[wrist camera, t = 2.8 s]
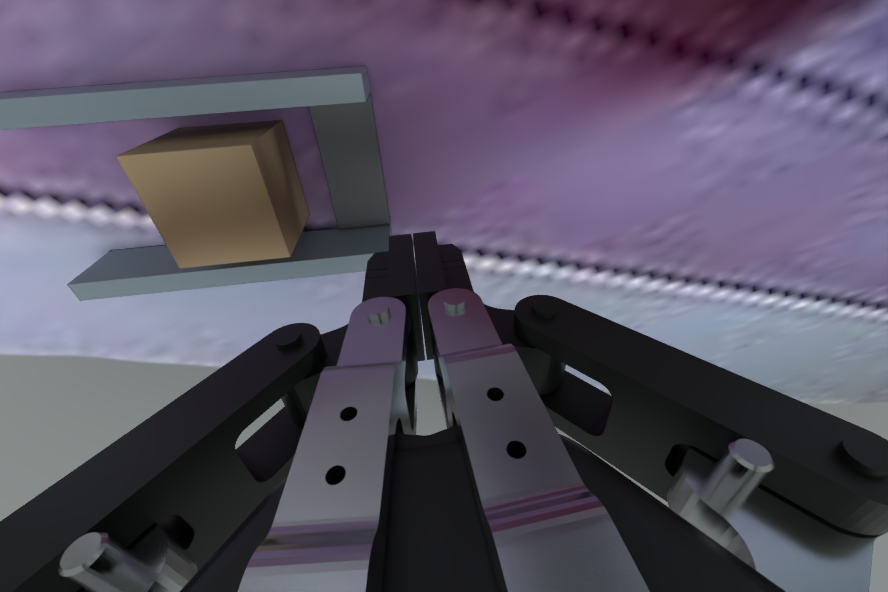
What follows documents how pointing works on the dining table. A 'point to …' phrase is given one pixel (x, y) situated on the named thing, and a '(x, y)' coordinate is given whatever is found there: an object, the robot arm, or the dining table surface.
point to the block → (221, 192)
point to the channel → (324, 90)
